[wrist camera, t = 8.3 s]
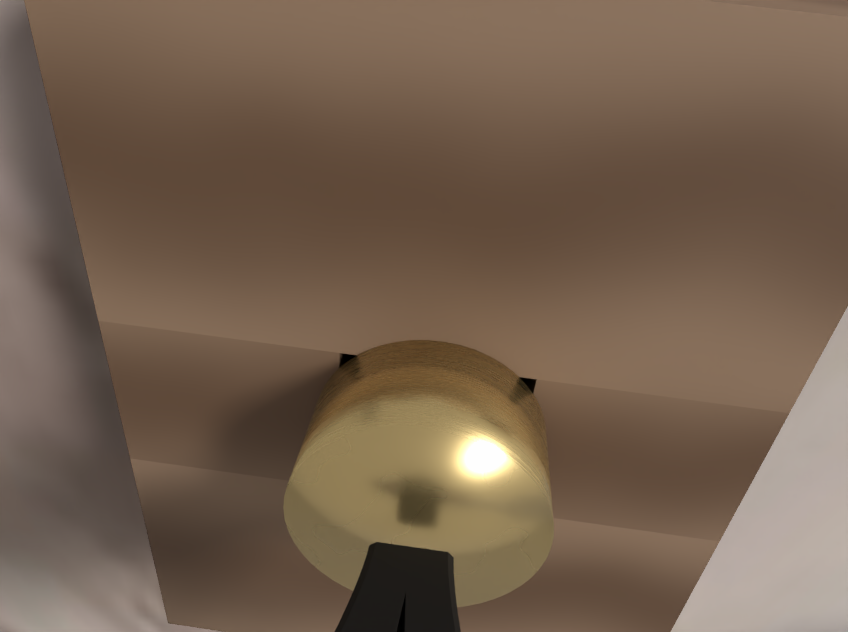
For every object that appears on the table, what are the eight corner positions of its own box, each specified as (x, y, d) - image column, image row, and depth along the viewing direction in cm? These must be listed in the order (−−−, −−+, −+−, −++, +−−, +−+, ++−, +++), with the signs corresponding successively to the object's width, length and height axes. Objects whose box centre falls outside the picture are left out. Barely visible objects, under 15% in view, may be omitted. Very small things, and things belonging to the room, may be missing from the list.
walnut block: (616, 572, 22) (636, 693, 19) (217, 515, 23) (168, 623, 19) (860, -6, 12) (996, 33, 9) (136, -87, 13) (6, -79, 9)
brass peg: (517, 419, 18) (524, 624, 13) (345, 393, 19) (285, 587, 13) (556, 267, 16) (584, 452, 10) (353, 238, 16) (280, 407, 11)
